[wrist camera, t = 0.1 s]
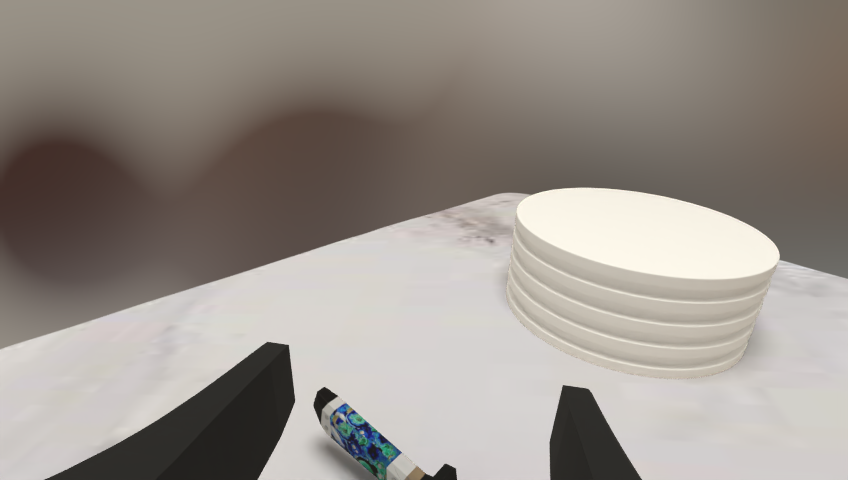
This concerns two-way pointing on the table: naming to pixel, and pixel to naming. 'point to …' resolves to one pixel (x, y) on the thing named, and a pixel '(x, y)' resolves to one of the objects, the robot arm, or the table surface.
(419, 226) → the table surface
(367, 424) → the knife
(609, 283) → the plate stack
